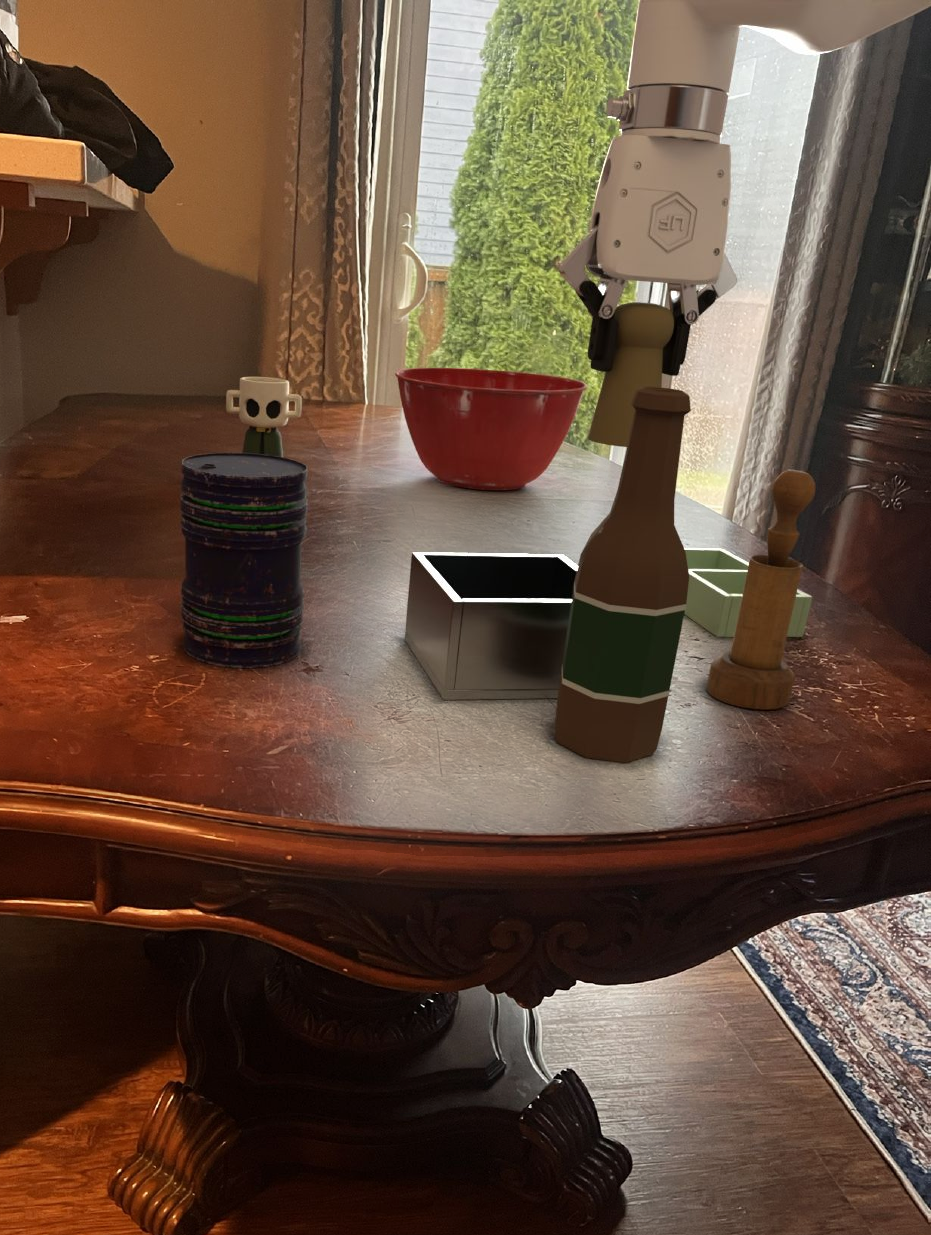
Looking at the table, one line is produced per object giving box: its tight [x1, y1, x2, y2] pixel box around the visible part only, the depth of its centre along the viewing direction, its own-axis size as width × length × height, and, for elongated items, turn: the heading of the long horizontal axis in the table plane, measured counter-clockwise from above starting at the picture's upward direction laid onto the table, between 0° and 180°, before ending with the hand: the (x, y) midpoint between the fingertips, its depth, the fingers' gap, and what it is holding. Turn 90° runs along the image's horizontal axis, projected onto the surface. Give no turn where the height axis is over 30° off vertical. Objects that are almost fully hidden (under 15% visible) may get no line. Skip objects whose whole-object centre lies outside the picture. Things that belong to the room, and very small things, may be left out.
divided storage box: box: [684, 547, 813, 638], centre depth 106 cm, size 9×17×4 cm, turn 12°
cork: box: [587, 301, 674, 448], centre depth 87 cm, size 6×6×11 cm
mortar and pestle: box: [705, 469, 816, 711], centre depth 81 cm, size 7×6×18 cm
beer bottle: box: [554, 387, 692, 764], centre depth 70 cm, size 8×8×24 cm
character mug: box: [225, 376, 303, 458], centre depth 154 cm, size 11×7×13 cm, turn 93°
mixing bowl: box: [394, 367, 588, 491], centre depth 158 cm, size 28×28×16 cm
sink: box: [404, 551, 578, 701], centre depth 85 cm, size 14×14×8 cm
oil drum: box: [179, 452, 309, 669], centre depth 84 cm, size 10×10×15 cm
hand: (634, 369), depth 87 cm, fingers closed on cork, 5 cm apart
